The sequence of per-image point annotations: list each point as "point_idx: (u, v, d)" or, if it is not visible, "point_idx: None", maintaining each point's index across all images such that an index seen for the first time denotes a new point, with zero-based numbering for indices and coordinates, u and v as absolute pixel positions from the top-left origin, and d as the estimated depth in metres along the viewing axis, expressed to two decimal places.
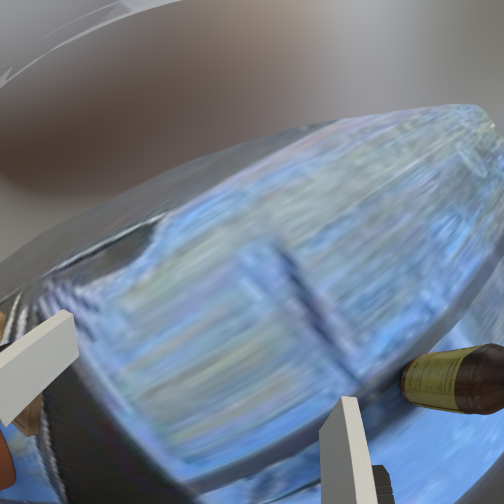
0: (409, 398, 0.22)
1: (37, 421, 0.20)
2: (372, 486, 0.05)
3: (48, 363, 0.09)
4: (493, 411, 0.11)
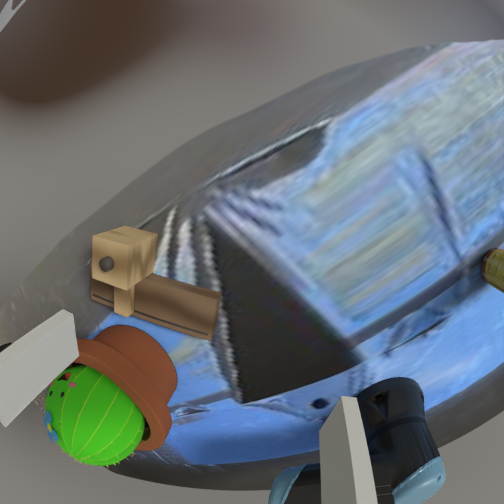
0: (486, 277, 0.30)
1: None
2: (372, 486, 0.05)
3: (48, 363, 0.09)
4: None
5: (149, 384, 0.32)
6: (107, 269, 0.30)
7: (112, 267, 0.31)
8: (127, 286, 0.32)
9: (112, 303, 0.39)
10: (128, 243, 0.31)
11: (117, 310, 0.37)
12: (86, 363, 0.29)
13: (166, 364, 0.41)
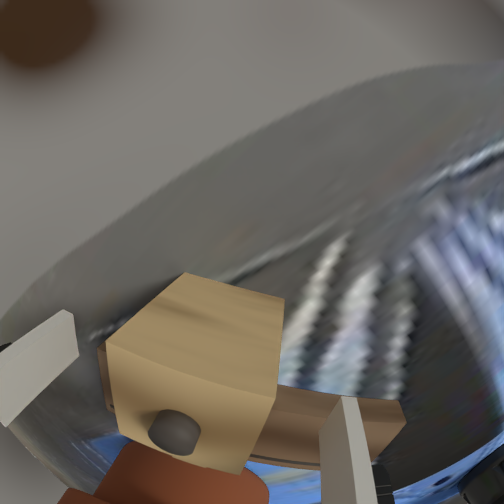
0: None
1: None
2: (372, 486, 0.05)
3: (48, 363, 0.09)
4: None
5: None
6: (183, 452, 0.08)
7: (196, 440, 0.08)
8: None
9: None
10: (263, 380, 0.08)
11: None
12: None
13: (262, 495, 0.18)
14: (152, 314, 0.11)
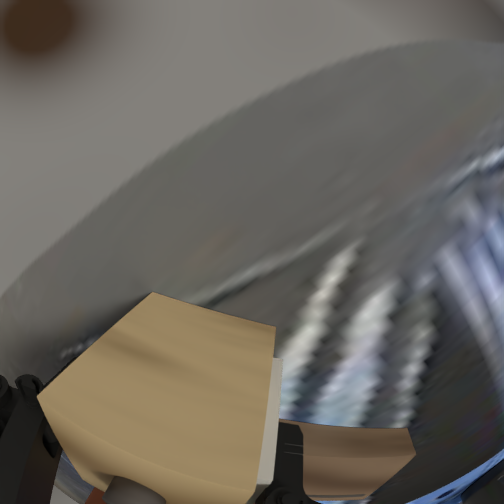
0: None
1: None
2: (276, 439, 0.07)
3: None
4: None
5: None
6: None
7: None
8: None
9: None
10: (238, 463, 0.05)
11: None
12: None
13: None
14: (99, 357, 0.07)
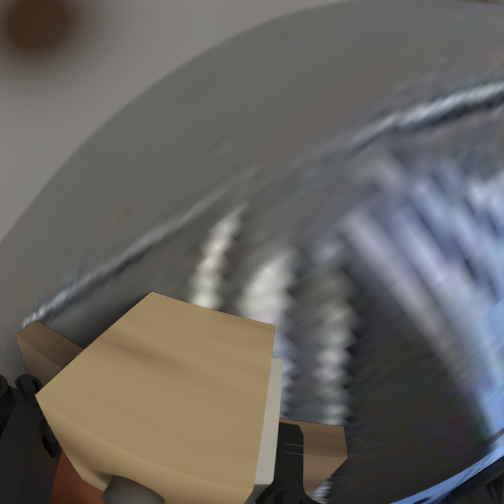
0: None
1: None
2: (276, 439, 0.07)
3: None
4: None
5: None
6: None
7: None
8: None
9: None
10: (237, 462, 0.05)
11: None
12: None
13: None
14: (97, 356, 0.07)
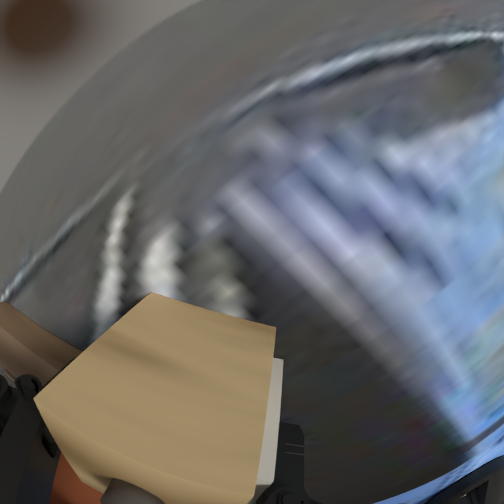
0: None
1: None
2: (277, 439, 0.07)
3: None
4: None
5: None
6: None
7: None
8: None
9: None
10: (237, 467, 0.05)
11: None
12: None
13: None
14: (96, 359, 0.07)
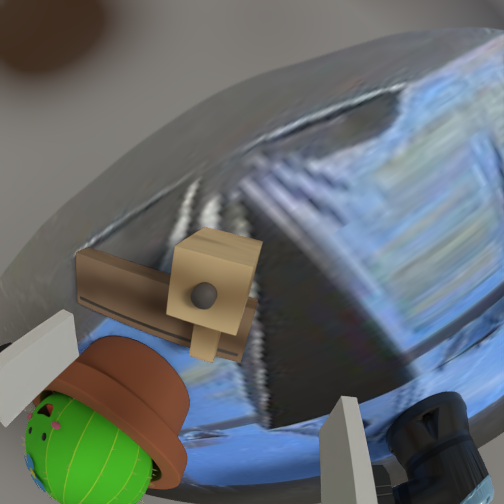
0: None
1: None
2: (372, 486, 0.05)
3: (48, 363, 0.09)
4: None
5: (160, 423, 0.22)
6: (208, 305, 0.19)
7: (214, 301, 0.20)
8: (237, 329, 0.21)
9: (105, 310, 0.29)
10: (248, 262, 0.20)
11: (195, 353, 0.26)
12: (72, 395, 0.19)
13: (177, 387, 0.31)
14: (193, 239, 0.22)
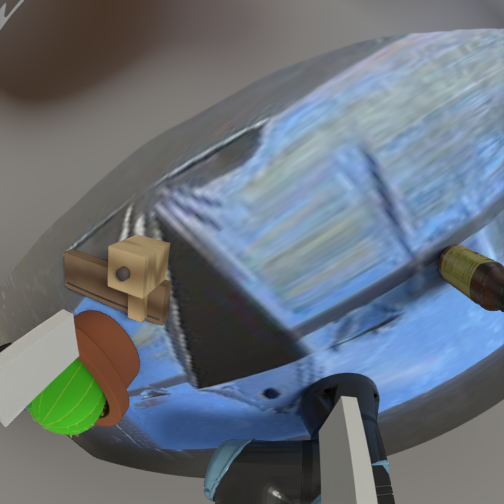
0: (443, 275, 0.34)
1: (167, 308, 0.42)
2: (372, 486, 0.05)
3: (48, 363, 0.09)
4: (489, 309, 0.22)
5: (106, 361, 0.35)
6: (124, 278, 0.33)
7: (128, 277, 0.33)
8: (143, 295, 0.34)
9: (82, 290, 0.42)
10: (144, 254, 0.33)
11: (131, 315, 0.39)
12: None
13: (128, 346, 0.44)
14: (122, 242, 0.35)
